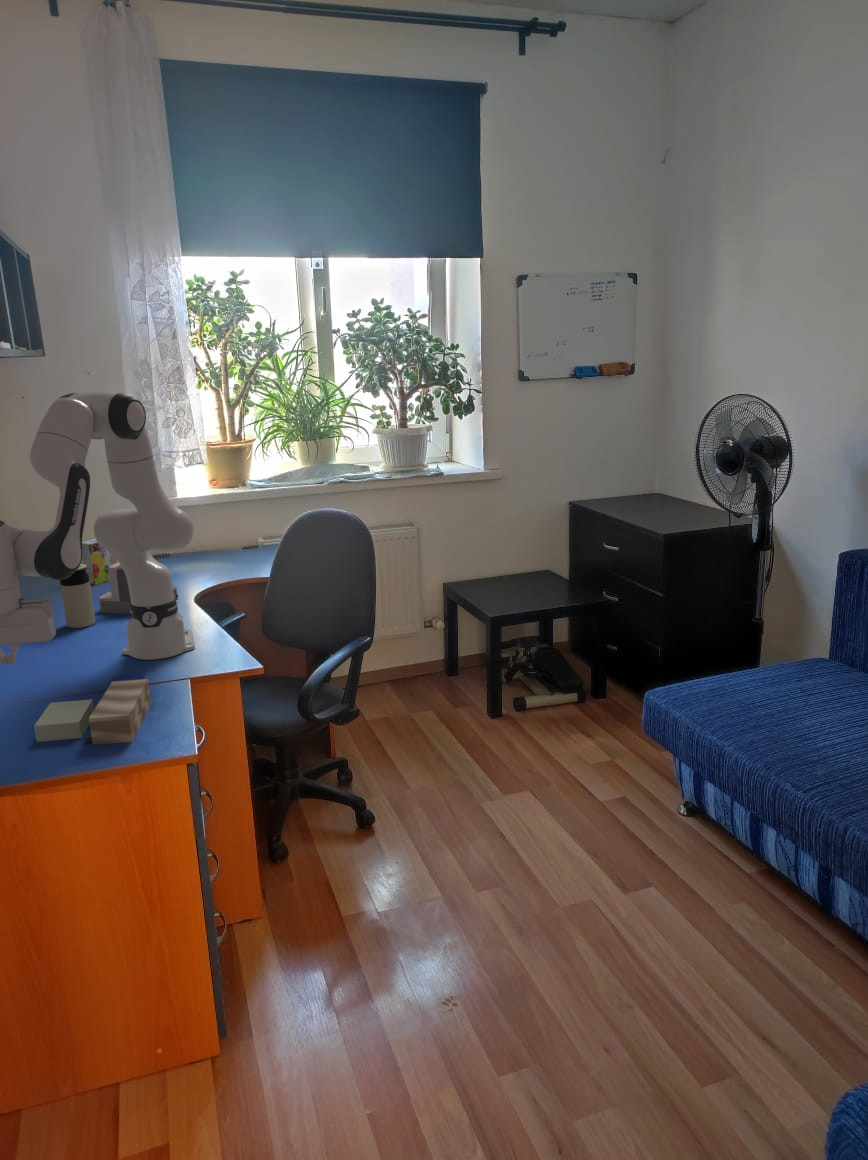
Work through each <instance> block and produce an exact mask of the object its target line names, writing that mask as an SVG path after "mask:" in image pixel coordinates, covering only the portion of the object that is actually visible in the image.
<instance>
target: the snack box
mask: <svg viewBox="0 0 868 1160" xmlns="http://www.w3.org/2000/svg"><path fill="white" fill-rule="evenodd" d="M116 563H118V561H117V559H116V558H115V557H114V556H113V555H112V554H111V553H110V552H109V551H107V550H106V549H105V548H103V547H102V546H100V544H99V543H98V542H97V540H96V538H93V539H90V540H87V541H82V561H81V564H85V565H86V572H87V574H88V575H89V580H90V585H92V586H97V585H99V584H102V583H107V582H110V579H109V572H108V568H109V566H111V565H114V564H116Z"/></svg>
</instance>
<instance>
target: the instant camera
mask: <svg viewBox="0 0 868 1160" xmlns="http://www.w3.org/2000/svg"><path fill="white" fill-rule="evenodd" d="M108 572H109V579H110V580H109V585H110V591H108V592H106V593H105V594H103V595H100V596H99V598H98V600H99V607H100V613H103V614H104V613H105V614H130V609H129V608H130V603H131V600H130V593H129V588H128V583H127V578H126V575H125V572H124V570H123V568H122V566H121V565H120V563H119V562H118V563H116V564H114V565H111V566H109V568H108ZM173 592H174V594H175V598H176V600H177V599H178V598H179V593H178V590H177V587H176V586H173ZM130 615H131V614H130Z"/></svg>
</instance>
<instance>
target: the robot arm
mask: <svg viewBox="0 0 868 1160" xmlns="http://www.w3.org/2000/svg"><path fill="white" fill-rule="evenodd" d="M146 413H147V412H146V408H145V406H144V405H143V403H142V402H141V400H140V399H139V398H138V397H137V396H135V395H133V394H130V393H127V392H111V391H99V390H98V391H94V392H80V393H78V392H71V393H67V394H64V395H61V396H60V397H59V398H58V399H56V400H55V401H53V402H52V403H51V405H50V406H49V408H48V409H47V410H46V413H45V414H44V416H43V418H42V421H41V422H40V424H39V426H38V429H37V431H36V434H35V437H34V439H33V443H32V445H31V449H30V455H29V460H30V463H31V466H32V467H33V470H34V471H35V472H36V474H38V476H40V477H41V478H42V479H44V480H45V481H47V482H48V483H50V484H52V485H54V486H56V487H57V488H58V490H59V499H58V505H57V512H56V517H55V520H54V521H55V522H54V525H53V527H51V528H50V529H48V530H47V531H43V530H32V529H31V530H30V529H21V528H17V527H13V526H11V525H9V524H7V523H6V522H5V521H4V520H0V665H12V664H14V665H15V664H16V663H17V652H18V651H19V648H20V646H21V644H30V643H47V642H50V641H51V640H52V639H53V638H54V637H55V636H56V635H57V630H56V624H55V621H54V618H53V606H52V603H51V602H50V601H49V600H47V599H44V597H36V598H32V597H31V598H29V597H28V598H22V594H21V593H22V592H21V587H20V581H19V579H18V577H19V576H27V577H28V576H29V577H39V578H40V577H43V578H46V579H51V580H57V581H60V580H64V579H67V578H69V577H70V576H71V575H72V574H73V573H75V571H76V570H77V569H78V568H79V566H80V564H82V542H83V536H84V529H85V523H86V518H87V517H86V516H87V511H88V505H89V500H90V499H89V498H90V492H91V491H90V490H91V477H90V476H91V475H90V473H89V471H88V469H87V468H86V458H87V454H88V451H89V448H90V445H91V441H92V440H104V449H105V455H106V461H107V462H106V463H107V467H108V472H109V477H110V481H111V486H112V489H113V490H114V492H115V493H116V494H117V495H118V496H120V497H121V498H124V499H126V500H127V501H129V502H130V503H131V504H132V505H133V506H134V507H135V508H118V509H113V510H107V511H104V512H101V513H100V514H99V515H98V516H97V518H96V520H95V521H94V524H93V534H94V539H96V540H97V542H98V543H99V544H100V546H102V547H103V548H105V549H106V550H107V551H109V552H110V553H111V554H112V555H113V556H114V557H115V558H116V559H117V561H118V562H119V563H120V565H121V566H122V568H123V570H124V572H125V575H126V578H127V583H128V588H129V593H130V600H131V603H130V608H129V609H130V617H131V619H130V620H129V621H128V622H127V623H126V626H125V627H126V638H127V639H126V640H127V646H126V647H124V648H123V649H122V654H123V655H127V656H131V657H132V658H134V659H137V660H147V661H148V660H149V661H150V660H161V659H167V658H171V657H174V656H177V655H180V654H182V653H184V652H188V651H191V650H194V649H195V647H196V646H195V641H194V640H195V639H194V634H193V631H192V630H191V629H188V628H187V629H186V628H185V627H184V619H183V616H182V615H181V614H180V612H179V609H178V602H177V599H176V598H175V594H174V592H173V587H174V585H173V584H174V583H173V577H172V572H171V570H170V569H169V568H168V566H166V565H165V564H163V563H161V562H159V561H157V560H156V559H155V558H154V556H152V554H151V553H150V552H154V551H155V552H157V551H159V552H165V551H166V552H168V551H175V550H178V549H183V548H186V547H187V546H188V545H189V544H190V542H191V541H192V540H193V537H194V524H193V521H192V519H191V517H190V516H189V514H188V513H187V512H185V511H183V510H182V509H181V508H179V507H177V505H175V503H173V502H172V500H170V498H169V497H168V496H167V494H166V493H165V491H164V490H163V488H162V486H161V483H160V481H159V477H158V476H159V475H158V472H157V468H156V463H155V460H154V454H153V448H152V444H151V441H150V437H149V433H148V431H147V429H146V420H147V414H146ZM3 645H8V647H9V649H11V651H10V653H5V652H4V651H3V650H2V649H1V647H2V646H3Z"/></svg>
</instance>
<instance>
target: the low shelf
mask: <svg viewBox="0 0 868 1160" xmlns="http://www.w3.org/2000/svg"><path fill="white" fill-rule="evenodd" d="M109 685H110V686H108V688H107V689H106V691H105V692H104V694H103V695H102V697H101V699H100V700H99V702H98V703H97V704H96V706H95V707H94V711H93V712H92V714H91V716H90V717H89V730H90V734H89V735H85V742H86V743H89V742H91V744H92V746H95V745H96V746H97V745H99V746H100V745H111V744H122V743H124V744H125V743H133V742H134V739H135V737H136V736H137V734H138V731H139V729H140V728H141V725H142V723H143V722H144V720H145V718H146V715H147V713H148V712H149V710H150V707H151V706H152V697H151V696H152V695H151V689H150V680H149V678H146V679H141V680H127V681H114V682H112V683H111V684H110V683H109Z"/></svg>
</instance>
